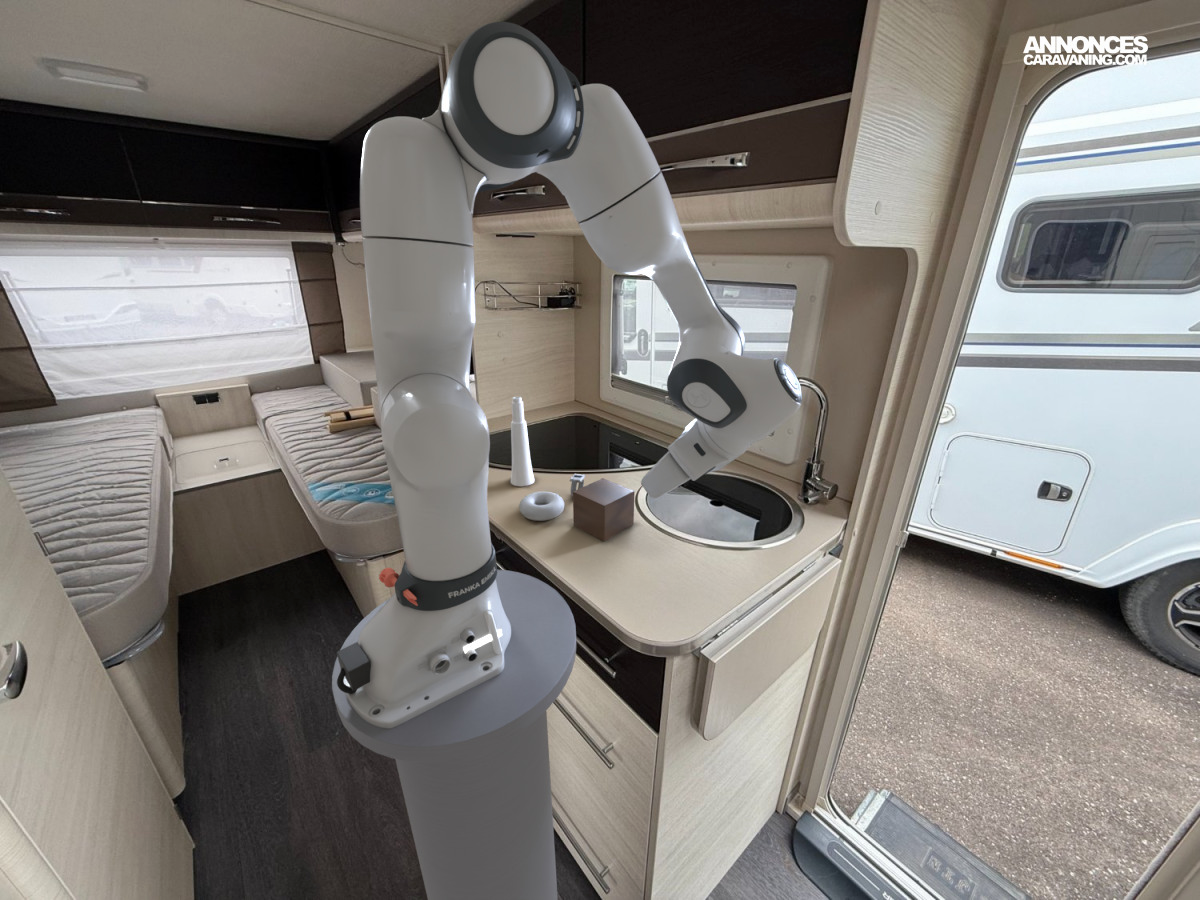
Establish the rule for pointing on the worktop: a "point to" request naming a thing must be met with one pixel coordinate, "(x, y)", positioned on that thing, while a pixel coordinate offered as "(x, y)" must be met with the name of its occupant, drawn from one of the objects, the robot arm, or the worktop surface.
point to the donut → (541, 506)
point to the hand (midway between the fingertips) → (658, 482)
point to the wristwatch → (576, 479)
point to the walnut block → (603, 508)
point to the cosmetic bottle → (520, 447)
